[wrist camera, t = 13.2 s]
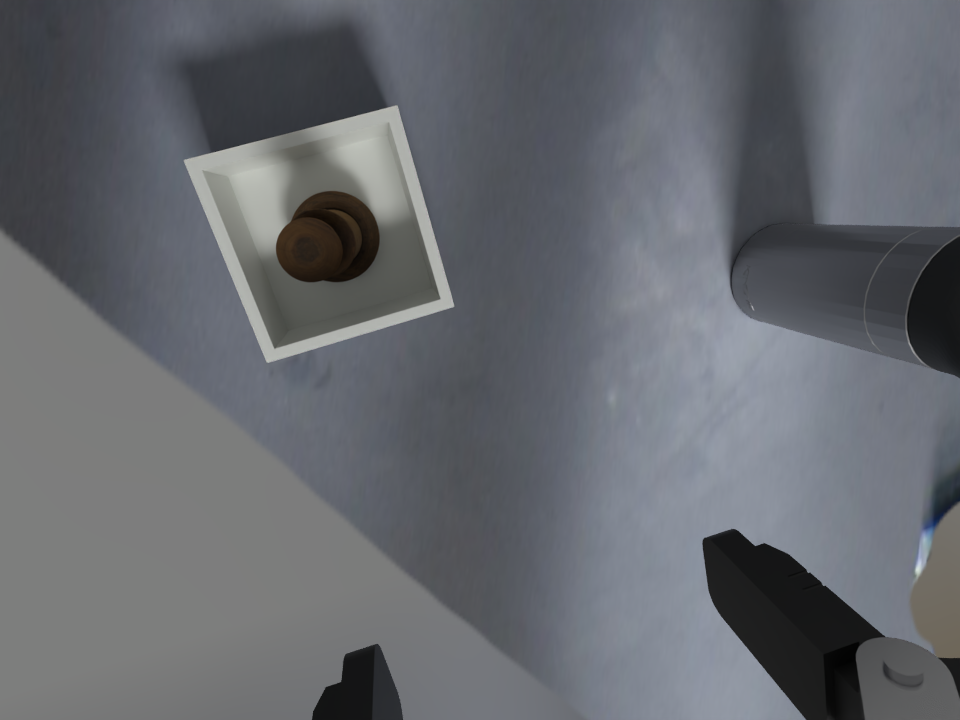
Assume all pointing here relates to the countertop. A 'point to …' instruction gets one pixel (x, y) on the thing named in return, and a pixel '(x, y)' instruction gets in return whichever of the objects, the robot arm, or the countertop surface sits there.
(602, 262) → the countertop surface
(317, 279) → the mortar and pestle
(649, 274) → the countertop surface
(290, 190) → the box
